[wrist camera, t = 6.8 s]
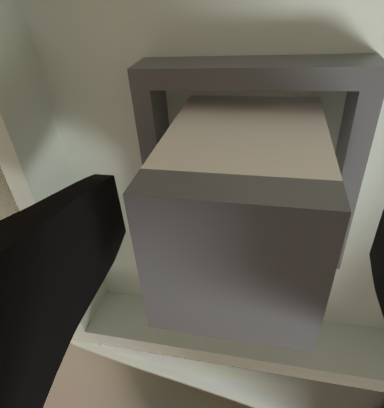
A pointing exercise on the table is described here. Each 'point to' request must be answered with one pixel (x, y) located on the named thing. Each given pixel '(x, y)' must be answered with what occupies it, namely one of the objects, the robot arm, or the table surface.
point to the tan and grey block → (240, 221)
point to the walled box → (166, 113)
